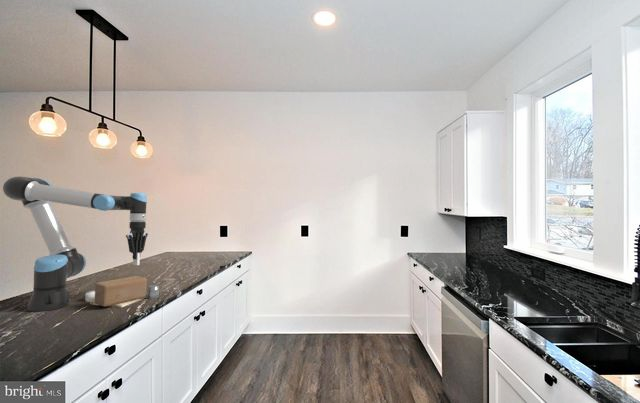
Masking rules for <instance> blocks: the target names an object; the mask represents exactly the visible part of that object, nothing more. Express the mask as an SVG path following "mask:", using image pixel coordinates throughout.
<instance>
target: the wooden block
mask: <svg viewBox="0 0 640 403" xmlns="http://www.w3.org/2000/svg"><path fill="white" fill-rule="evenodd" d="M147 281H148V280H147V278H146V277H142V276H138V275H134V276H129V277H123V278H116V279H111V280H105V281H100V282H97V283H95V284H94V291H95V303H96V304H99V305H98V306H102V307H110V306H109V305H114V304H118V303H122V302H126V301H130V300H135V299H139V298H143V297H146V296H147V288H148V286H147V285H148V284H147Z"/></svg>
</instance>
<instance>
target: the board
mask: <svg viewBox="0 0 640 403" xmlns="http://www.w3.org/2000/svg"><path fill="white" fill-rule="evenodd" d="M145 299H148V295H146V297H143V298H139V299H135V300H130V301H126V302H122V303H118V304H114V305H109V306H108V307H112V308H123V307H126V306H130V305H132V304H134V303H137V302H140V301H142V300H145ZM89 305H92V306H93V305H94V306H100V305H99V304H96V303H95V301H92V302H89Z"/></svg>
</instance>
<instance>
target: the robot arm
mask: <svg viewBox="0 0 640 403" xmlns="http://www.w3.org/2000/svg"><path fill="white" fill-rule="evenodd" d="M2 192H3V194H4V195H5V196H6V197H7V198H8V199H10V200H15V201H21V202H22V205H23V207H24V208H25V209H28V210H30V212H31V215H32V217H33V219H34V221H35V224H36V225H37V228H38V230H39V232H40V234H41V237H42V239H43V241H44V243H45V245H46V248H47V250H48V252H49V254H48V255H45V256H41V257H39V258H36V260H35V261H34V266H33V290H32V291H33V292H32V294H31V297H30V298H29V301H28V303H27V307H26V308H27V309H26V310H27V311H29V312H45V311H46V312H47V311H51V310H57V309H61V308H64V307H67V306H69V305H70V304H71V296H70V294H69V292H68V289H67V281H68V280H67V279H69V278H72V277H75V276H77V275H79V274H80V273H81V272H83V270H84V269H85V267H86V266H87V259H86V258H85V256H84V255H83V254H82V253H79V252H78V250H77V248H76V247H75V246H71V244H70V241H69V239H68V237H67V235H66V233H65V230H64V228H63V226H62V224H61V221H60V219H59V217H58V216H57V213H56V211H55V209H54V206H53V203H55V204H63V205H67V206H68V205H70V206H77V207H83V208H89V209H96V210H98V211H104V212H105V211H129V225H128V226H129V227H128V228H129V229H130V232H129V234H126V235H125V238H126V240H127V244H128V245H127V246H128V251H129V253H131V254H132V265H133V266H140V259H141V253H143V252H144V250H145V246H146V241H147V237H148V235H149V233H148V232H147V233H146V232H145V229H146V226H147V224H146V220H147V194H146V193H145V192H131V193H130V195H128V196H124V195H111V194H110V195H108V194H104V193H103V194H102V193H97V192H91V191H85V190H84V191H83V190H78V189H71V188H65V187H60V186H59V187H58V186H53V185H52V184H51V183H50V182H49V181H47V180H45V179H43V178H37V177H28V176H14V177H10V178H8V179H6V181H5V182H4V183H3V185H2Z"/></svg>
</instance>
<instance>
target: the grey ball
mask: <svg viewBox="0 0 640 403" xmlns="http://www.w3.org/2000/svg"><path fill="white" fill-rule="evenodd" d="M159 293H160V284H152V285H149V286H147V299H148V300H156V299H158V298H159V296H160V294H159Z"/></svg>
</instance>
